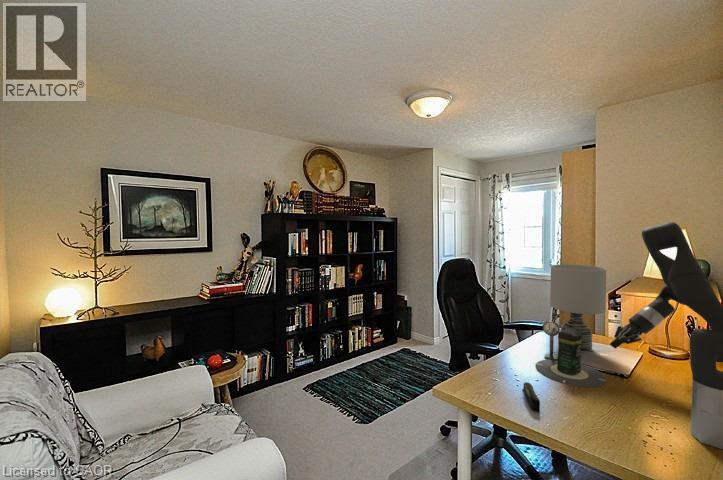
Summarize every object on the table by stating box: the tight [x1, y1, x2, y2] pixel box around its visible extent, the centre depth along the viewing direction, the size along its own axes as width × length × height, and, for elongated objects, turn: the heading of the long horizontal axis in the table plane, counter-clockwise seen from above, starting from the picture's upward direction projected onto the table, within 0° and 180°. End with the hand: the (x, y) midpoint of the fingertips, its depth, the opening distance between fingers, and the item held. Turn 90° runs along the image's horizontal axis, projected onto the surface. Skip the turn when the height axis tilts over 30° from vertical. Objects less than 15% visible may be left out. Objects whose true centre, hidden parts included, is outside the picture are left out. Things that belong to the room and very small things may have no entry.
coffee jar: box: [557, 328, 582, 375], centre depth 139 cm, size 10×8×19 cm
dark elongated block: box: [521, 381, 541, 413], centre depth 117 cm, size 5×3×15 cm
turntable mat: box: [534, 359, 607, 388], centre depth 140 cm, size 26×26×1 cm
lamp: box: [549, 264, 607, 352], centre depth 167 cm, size 24×24×42 cm
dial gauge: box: [542, 320, 561, 360], centre depth 154 cm, size 5×7×18 cm
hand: (612, 346), depth 136 cm, fingers closed
